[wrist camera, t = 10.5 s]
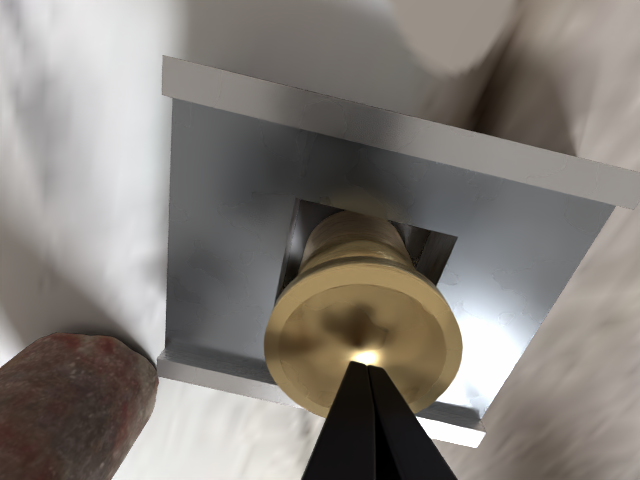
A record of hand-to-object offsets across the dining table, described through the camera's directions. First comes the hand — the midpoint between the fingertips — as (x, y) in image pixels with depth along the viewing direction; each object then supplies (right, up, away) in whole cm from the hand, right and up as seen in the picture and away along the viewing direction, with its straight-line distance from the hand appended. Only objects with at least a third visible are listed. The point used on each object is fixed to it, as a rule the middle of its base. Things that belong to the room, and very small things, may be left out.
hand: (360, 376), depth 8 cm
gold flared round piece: (0, +3, +6) cm, 7 cm away
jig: (0, +3, +6) cm, 7 cm away
